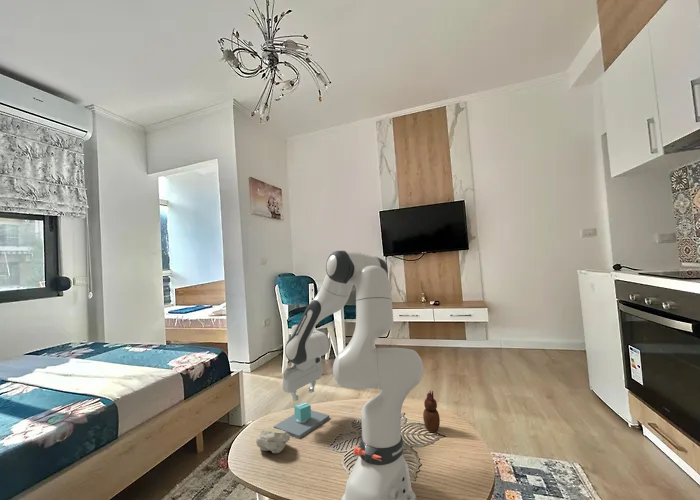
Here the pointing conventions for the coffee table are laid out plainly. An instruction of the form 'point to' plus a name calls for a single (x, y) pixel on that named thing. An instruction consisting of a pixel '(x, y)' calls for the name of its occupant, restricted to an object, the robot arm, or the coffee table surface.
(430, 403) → the wooden figurine
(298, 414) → the teal slotted cube
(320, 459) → the coffee table surface
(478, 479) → the coffee table surface
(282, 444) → the fossil replica
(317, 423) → the toggle switch board
